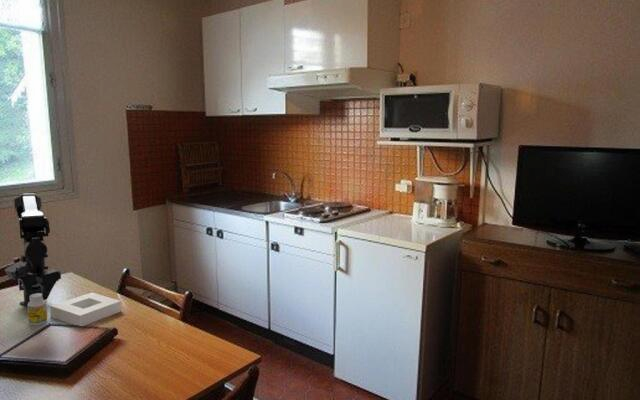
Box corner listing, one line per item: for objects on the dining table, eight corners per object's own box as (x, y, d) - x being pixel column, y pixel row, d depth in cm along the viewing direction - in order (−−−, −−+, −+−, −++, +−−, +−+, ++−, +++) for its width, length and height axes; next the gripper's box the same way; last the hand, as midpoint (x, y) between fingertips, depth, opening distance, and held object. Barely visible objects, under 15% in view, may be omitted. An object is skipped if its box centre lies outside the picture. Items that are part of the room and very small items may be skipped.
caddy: (50, 316, 155) (50, 305, 155) (92, 302, 169) (92, 292, 169) (80, 327, 148) (79, 315, 148) (121, 311, 162) (120, 300, 162)
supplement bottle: (50, 319, 153) (48, 292, 152) (42, 325, 148) (41, 298, 147) (33, 319, 153) (31, 292, 151) (25, 325, 147) (23, 298, 146)
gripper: (-9, 252, 144) (-6, 298, 146) (25, 262, 136) (28, 310, 138) (27, 245, 154) (29, 289, 156) (61, 254, 146) (63, 299, 148)
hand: (36, 297), depth 149 cm, fingers open, 9 cm apart
